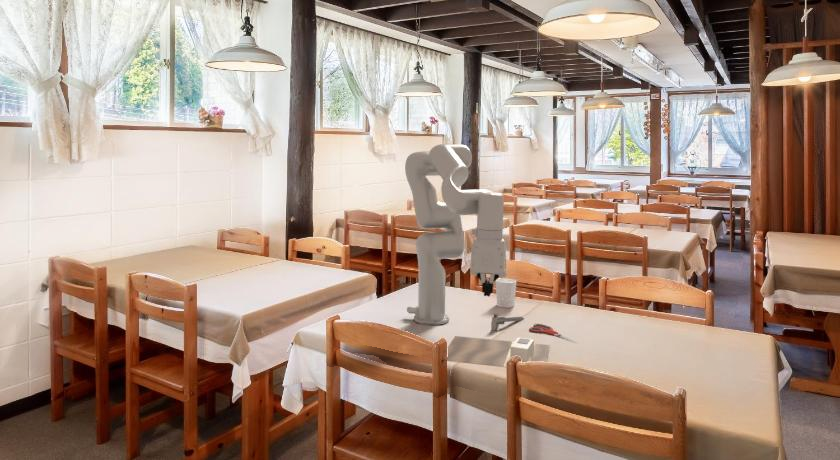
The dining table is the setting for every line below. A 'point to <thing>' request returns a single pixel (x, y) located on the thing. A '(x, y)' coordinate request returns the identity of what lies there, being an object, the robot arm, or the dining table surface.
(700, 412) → the dining table surface
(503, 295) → the white cup
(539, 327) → the scissors
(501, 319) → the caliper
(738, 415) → the dining table surface
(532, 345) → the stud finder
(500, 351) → the subfloor panel
